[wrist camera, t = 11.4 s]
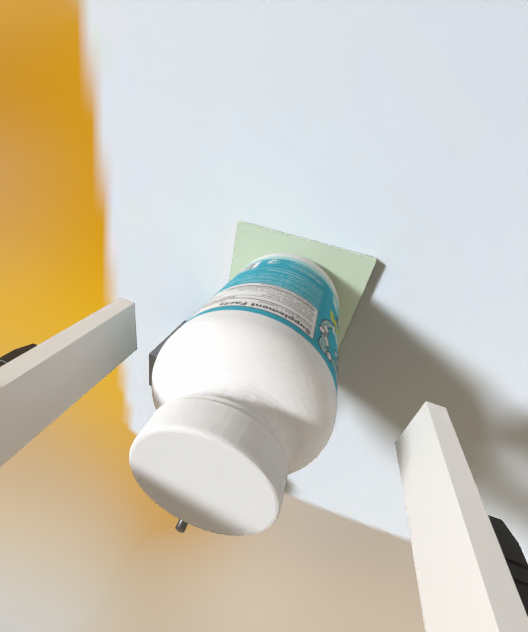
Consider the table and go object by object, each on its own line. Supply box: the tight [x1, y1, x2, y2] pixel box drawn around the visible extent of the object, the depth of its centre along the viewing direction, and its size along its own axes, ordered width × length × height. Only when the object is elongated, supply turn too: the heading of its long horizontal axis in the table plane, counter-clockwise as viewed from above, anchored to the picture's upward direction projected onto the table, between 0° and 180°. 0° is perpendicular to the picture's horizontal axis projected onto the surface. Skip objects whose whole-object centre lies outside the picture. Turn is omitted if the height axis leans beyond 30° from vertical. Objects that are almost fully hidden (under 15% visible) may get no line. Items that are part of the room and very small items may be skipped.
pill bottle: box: [129, 253, 339, 536], centre depth 14 cm, size 8×7×14 cm
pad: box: [229, 221, 377, 349], centre depth 20 cm, size 9×9×1 cm
